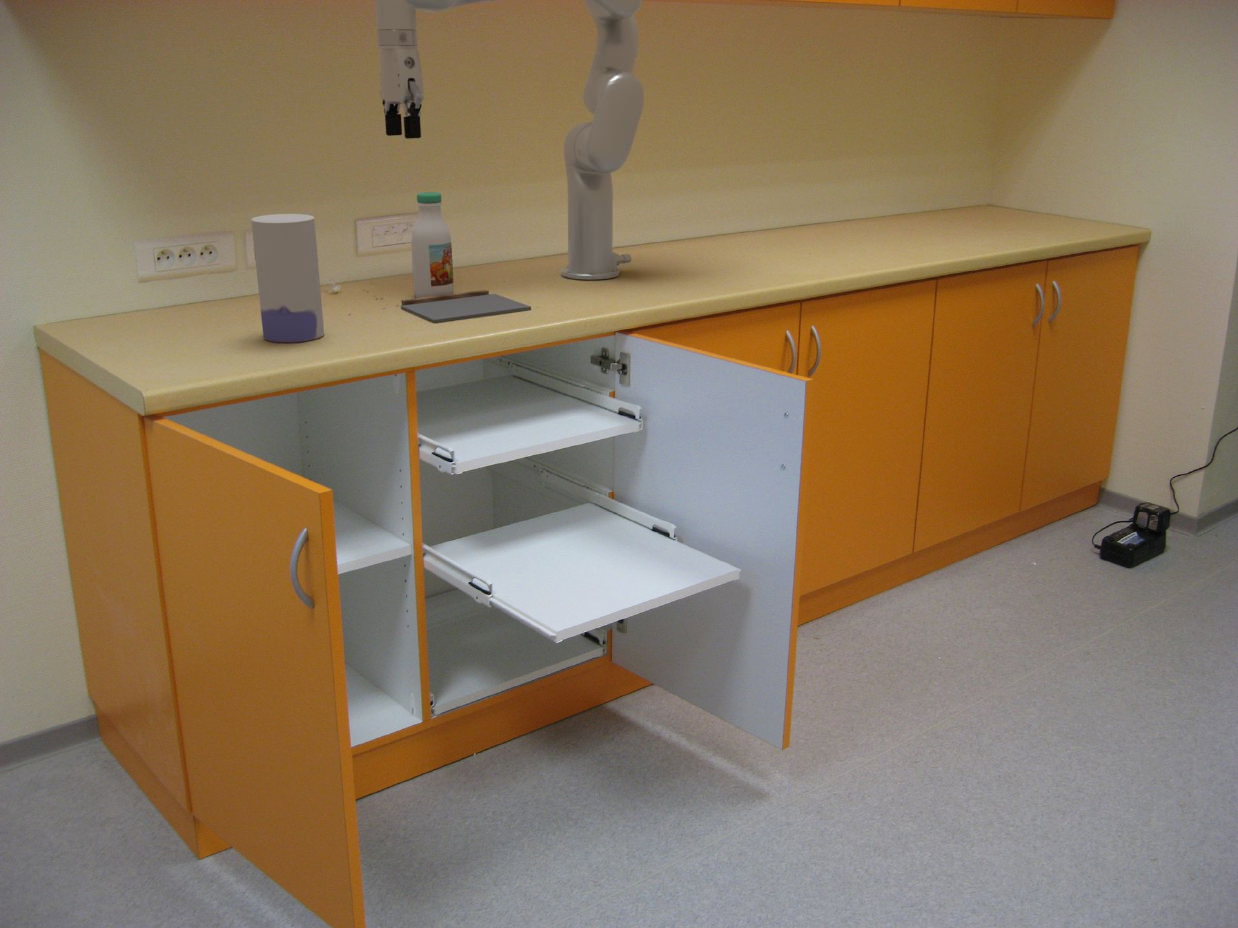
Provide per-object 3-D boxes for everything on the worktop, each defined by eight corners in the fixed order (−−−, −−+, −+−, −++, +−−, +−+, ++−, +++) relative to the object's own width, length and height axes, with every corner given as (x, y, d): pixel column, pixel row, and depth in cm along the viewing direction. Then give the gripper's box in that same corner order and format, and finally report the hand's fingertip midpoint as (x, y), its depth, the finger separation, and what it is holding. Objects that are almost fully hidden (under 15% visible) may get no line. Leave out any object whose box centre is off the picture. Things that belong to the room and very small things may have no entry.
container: (329, 329, 201) (319, 213, 194) (317, 343, 191) (306, 221, 184) (271, 329, 200) (260, 213, 193) (256, 343, 191) (243, 221, 184)
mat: (495, 296, 227) (494, 293, 226) (531, 309, 216) (531, 306, 216) (401, 309, 216) (400, 305, 216) (434, 323, 205) (433, 320, 205)
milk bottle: (416, 302, 222) (410, 196, 215) (412, 294, 229) (406, 191, 222) (456, 300, 224) (451, 195, 217) (451, 292, 231) (446, 190, 224)
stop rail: (485, 295, 228) (485, 289, 227) (488, 296, 227) (488, 290, 226) (401, 306, 218) (401, 300, 218) (404, 307, 217) (404, 301, 217)
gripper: (436, 40, 213) (441, 139, 219) (396, 40, 226) (402, 133, 232) (398, 40, 209) (404, 141, 215) (360, 40, 222) (367, 135, 228)
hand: (403, 136), depth 224 cm, fingers open, 7 cm apart
